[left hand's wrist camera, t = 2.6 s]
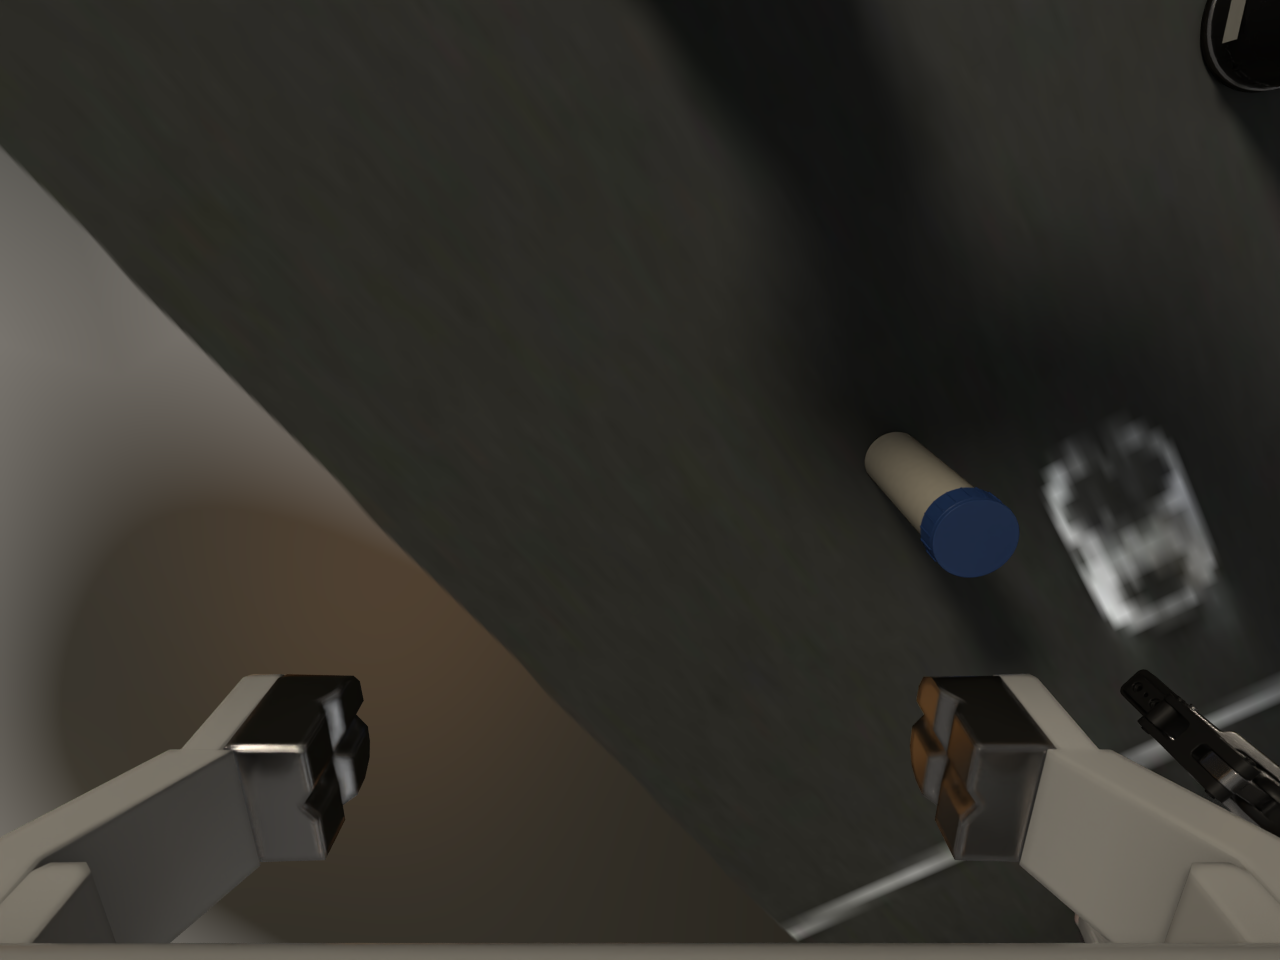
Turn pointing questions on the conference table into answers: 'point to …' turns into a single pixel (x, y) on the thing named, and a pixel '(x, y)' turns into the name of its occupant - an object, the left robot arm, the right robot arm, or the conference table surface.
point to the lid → (969, 532)
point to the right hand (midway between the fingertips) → (1178, 712)
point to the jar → (909, 474)
